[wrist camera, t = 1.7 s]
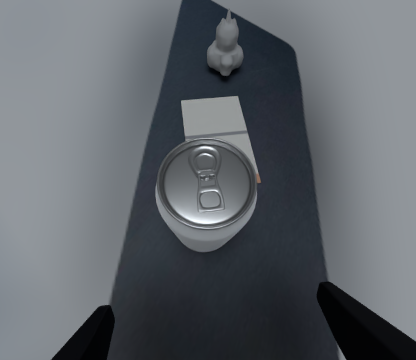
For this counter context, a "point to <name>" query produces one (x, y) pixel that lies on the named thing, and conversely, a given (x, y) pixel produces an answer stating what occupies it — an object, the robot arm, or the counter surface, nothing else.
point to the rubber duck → (225, 47)
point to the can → (206, 192)
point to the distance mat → (217, 122)
